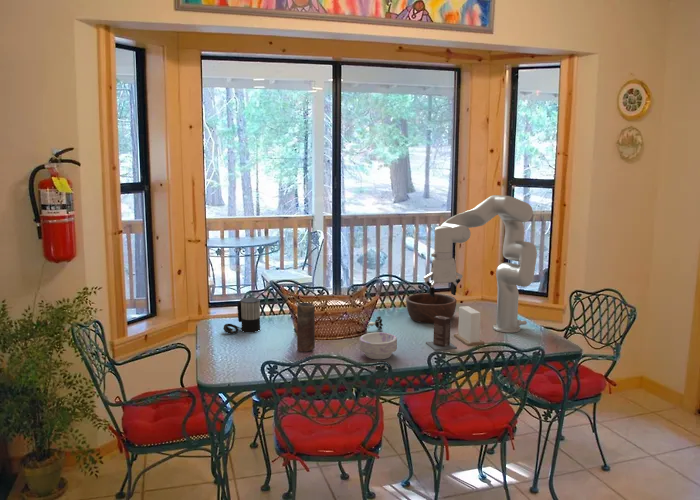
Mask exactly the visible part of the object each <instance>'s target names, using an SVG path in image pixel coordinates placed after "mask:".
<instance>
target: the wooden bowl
mask: <svg viewBox="0 0 700 500" xmlns="http://www.w3.org/2000/svg"><path fill="white" fill-rule="evenodd" d="M405 301H406V309H407V314H408V315H409V317H410V319H411V320H413V321H415V322H416V323H417V322H418V323H424V324H434V317H436V316H443V317H448V318H451V319H450V321H451V320H452V318H453V317H454V315H455V312H456V309H457V298H455V297H453V296H451V295H448V294H443V293H435V296H434V297H432V296H430V294H429V292H426V293H416V294H411V295H409V296H406V299H405Z"/></svg>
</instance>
